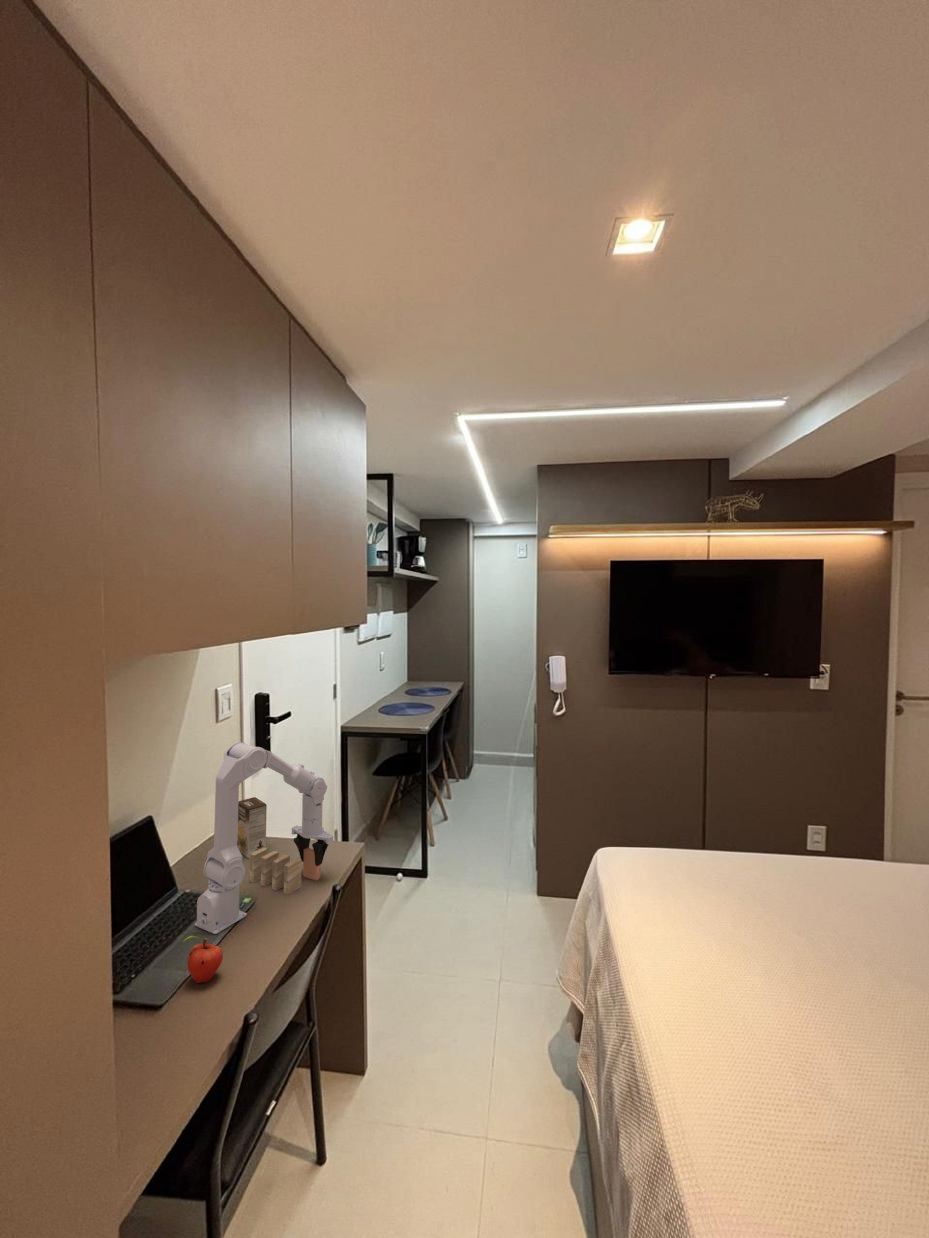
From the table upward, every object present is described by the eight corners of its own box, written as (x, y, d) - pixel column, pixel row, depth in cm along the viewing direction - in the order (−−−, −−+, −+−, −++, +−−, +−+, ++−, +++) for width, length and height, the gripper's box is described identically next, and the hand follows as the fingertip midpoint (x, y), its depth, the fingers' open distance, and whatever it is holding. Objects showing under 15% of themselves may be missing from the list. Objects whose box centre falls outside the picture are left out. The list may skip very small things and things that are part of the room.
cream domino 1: (267, 875, 159) (267, 848, 159) (253, 882, 155) (254, 855, 155) (263, 873, 160) (263, 847, 160) (249, 881, 156) (250, 853, 156)
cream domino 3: (289, 882, 155) (289, 855, 155) (276, 890, 151) (276, 862, 151) (285, 881, 156) (285, 854, 156) (272, 889, 152) (272, 861, 151)
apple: (213, 963, 120) (213, 919, 119) (228, 977, 115) (228, 931, 115) (177, 981, 114) (177, 934, 114) (191, 996, 109) (191, 948, 109)
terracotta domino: (316, 880, 157) (316, 853, 157) (303, 876, 159) (303, 849, 159) (319, 878, 158) (320, 851, 158) (307, 874, 160) (307, 847, 160)
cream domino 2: (278, 878, 157) (278, 851, 157) (264, 886, 153) (265, 858, 153) (274, 877, 158) (274, 850, 158) (260, 885, 154) (261, 857, 153)
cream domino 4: (301, 886, 153) (301, 859, 153) (287, 894, 149) (288, 866, 149) (297, 885, 154) (297, 857, 154) (283, 893, 149) (284, 864, 149)
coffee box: (235, 849, 176) (235, 801, 175) (254, 843, 180) (254, 796, 180) (247, 859, 169) (248, 808, 169) (267, 852, 174) (267, 803, 174)
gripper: (340, 816, 158) (339, 862, 159) (303, 807, 165) (303, 851, 165) (323, 825, 152) (323, 872, 152) (286, 815, 159) (285, 860, 159)
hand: (311, 862), depth 159 cm, fingers closed on terracotta domino, 5 cm apart
